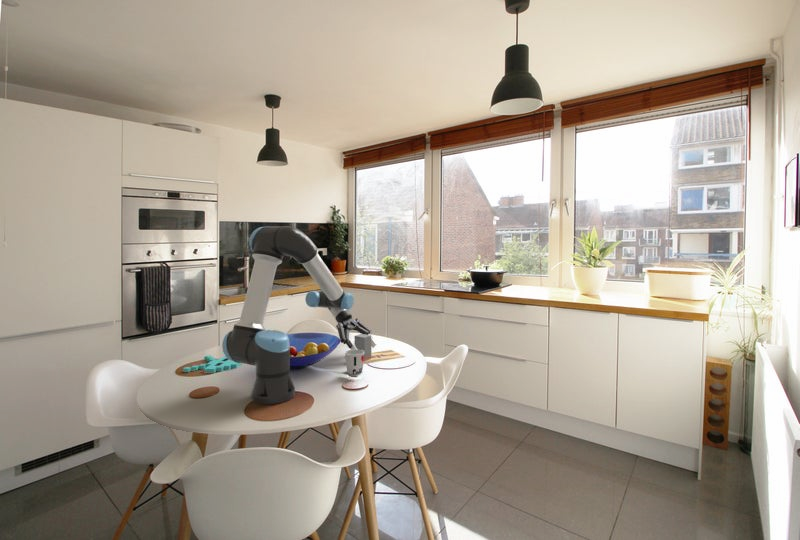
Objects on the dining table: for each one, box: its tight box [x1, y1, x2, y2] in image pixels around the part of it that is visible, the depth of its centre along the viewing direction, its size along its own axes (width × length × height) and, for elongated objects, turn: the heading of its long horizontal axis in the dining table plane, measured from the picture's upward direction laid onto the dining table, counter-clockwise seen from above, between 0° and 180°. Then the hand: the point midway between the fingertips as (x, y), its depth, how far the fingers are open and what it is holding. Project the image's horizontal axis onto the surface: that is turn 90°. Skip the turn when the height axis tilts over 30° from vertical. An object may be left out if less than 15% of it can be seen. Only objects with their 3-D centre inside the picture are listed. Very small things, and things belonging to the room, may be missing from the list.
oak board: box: [363, 349, 406, 365], centre depth 192 cm, size 14×24×2 cm, turn 121°
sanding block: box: [353, 333, 372, 361], centre depth 188 cm, size 6×5×11 cm
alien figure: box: [182, 354, 243, 374], centre depth 182 cm, size 20×2×20 cm
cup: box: [344, 349, 365, 378], centre depth 169 cm, size 8×8×10 cm
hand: (365, 349), depth 187 cm, fingers open, 13 cm apart
